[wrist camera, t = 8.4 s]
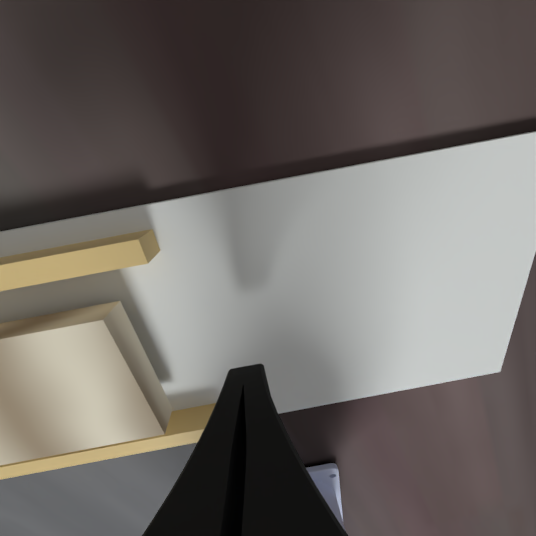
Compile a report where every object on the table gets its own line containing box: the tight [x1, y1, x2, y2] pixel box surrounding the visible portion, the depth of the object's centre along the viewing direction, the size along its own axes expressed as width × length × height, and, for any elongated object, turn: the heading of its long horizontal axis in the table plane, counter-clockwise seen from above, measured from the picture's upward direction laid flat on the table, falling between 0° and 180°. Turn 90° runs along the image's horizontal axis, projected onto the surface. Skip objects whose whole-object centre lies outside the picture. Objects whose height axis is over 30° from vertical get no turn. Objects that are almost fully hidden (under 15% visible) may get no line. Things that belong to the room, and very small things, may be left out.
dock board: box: [0, 131, 536, 479], centre depth 13 cm, size 14×32×2 cm, turn 100°
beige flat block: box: [0, 301, 173, 465], centre depth 12 cm, size 10×7×2 cm
